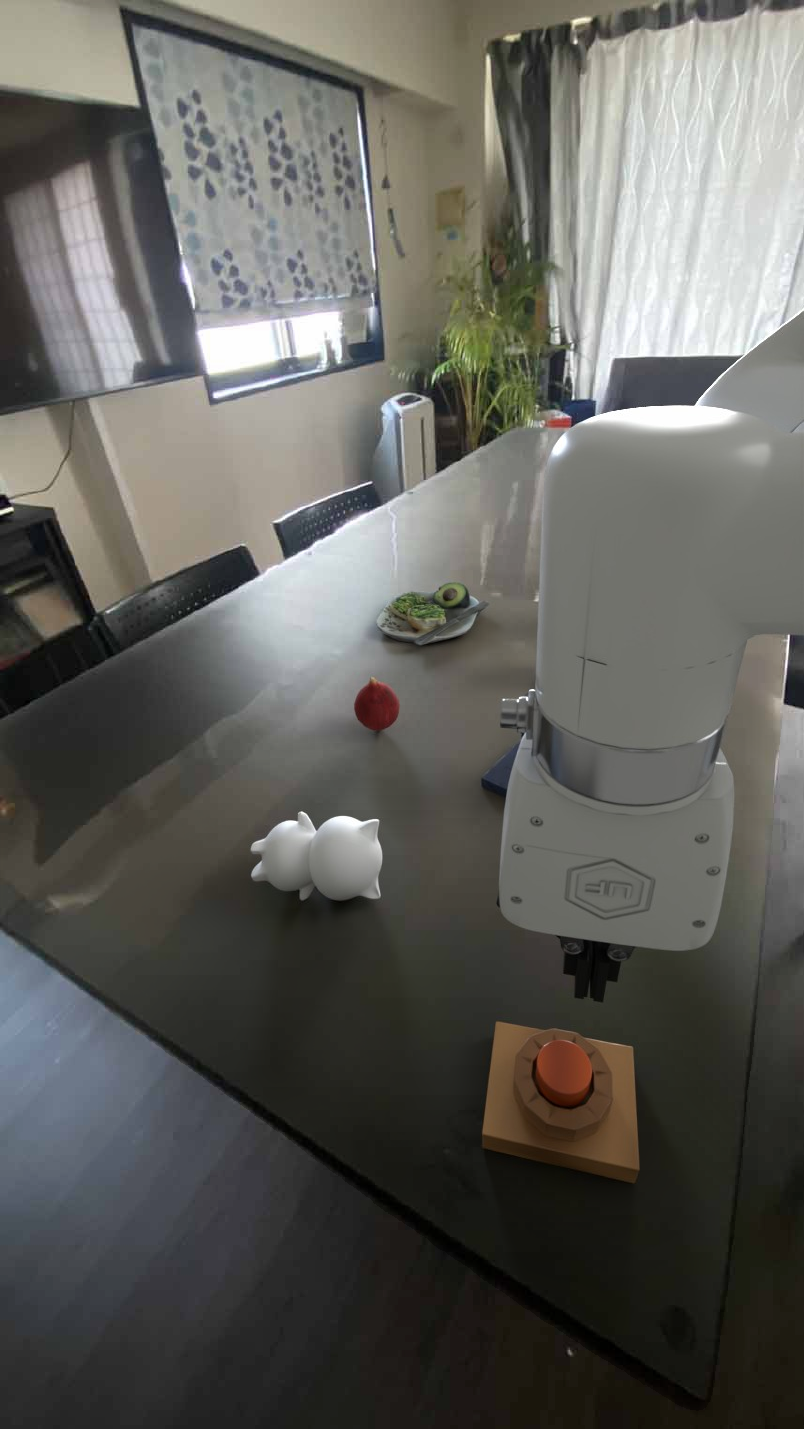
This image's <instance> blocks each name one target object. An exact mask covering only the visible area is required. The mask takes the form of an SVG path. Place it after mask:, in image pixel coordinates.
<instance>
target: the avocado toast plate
mask: <svg viewBox="0 0 804 1429" xmlns="http://www.w3.org/2000/svg"><path fill="white" fill-rule="evenodd" d="M489 605H490V602H489V600H485V599H484V600H482V601H479V600H478V599H476V598H475V597H474V596H472V595H470V592H469V589H468V587H467V586H465V585H464V584H463V583H460V582H448V583H443V585H441V586H439V587H438V590H436V591H426V590H424V591H423V590H411V591H406V592H402V593H399V594H396V595H394V596H392V597H391V598H390V599H389V600H388V601H387V603H386V604H385V606H384V608H382V610H381V612H380V614H379V615H378V617H377V619H376V620H375V625H376V627H377V629H378V630H379V631H380V632H381V633H382V634H384V635H386V636H388V637H390V638H391V639H393V640H395V641H399V642H402V643H413V644H414V645H417V646H423V645H427V644H433V643H436V642H440V641H445V640H450V639H453V638H456V637H461V636H463V635H465V634H467V632H469V631H470V630H471V628H472V627H473V625H474V623H475V620H476V618H477V616H478V615H479V614H480V613H481V612H482V611H483V610H485V609H486V608H487V607H488V606H489Z"/></svg>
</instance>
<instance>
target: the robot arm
mask: <svg viewBox="0 0 804 1429" xmlns="http://www.w3.org/2000/svg"><path fill="white" fill-rule="evenodd" d="M547 458H548V459H547V462H546V466H545V470H544V477H543V478H544V480H543V487H542V488H543V491H542V508H541V530H540V531H541V532H540V534H541V535H540V555H539V556H540V558H539V581H538V582H539V583H538V606H537V607H538V608H537V609H538V610H537V634H536V659H535V681H534V682H535V684H534V685H535V686H534V689H529V690H528V693H529V696H528V697H523V696H522V695H521V696H519V697H518V698H501V702H500V713H499V728H500V729H513V730H516V732H517V733H521V732H522V733H525V734H524V736H523V738H522V740H521V739H520V740H521V742H520V745H519V748H518V751H517V755H516V758H515V761H514V764H513V767H512V771H511V775H510V779H509V783H508V789H507V796H506V797H505V803H504V809H503V820H502V828H501V829H502V830H501V831H502V833H501V842H500V843H501V844H500V857H499V878H498V889H497V895H496V906H497V907H498V908H499V909H500V912H501V915H502V917H503V918H505V919H506V921H508V922H510V923H511V924H513V925H514V926H517V927H519V928H522V929H524V930H527V931H530V932H531V931H532V932H537V933H540V934H541V933H542V934H548V935H553V936H555V937H556V938H557V939H558V940H559V944H560V948H561V950H562V951H563V962H562V963H563V965H562V974H563V975H567V976H574V987H573V988H574V990H573V992H574V993H573V997H574V999H577V1000H584V999H585V998H588V997H589V998H590V999H592V1000H593V1002H596V1003H601V1004H602V1003H604V1000H605V994H606V988H607V982H610V983H611V982H612V983H618V982H619V981H618V980H619V975H620V969H621V966H622V965H621V964H622V962H626V961H627V960H629V959H630V958H631V956H632V955H633V952H634V951H635V949H636V948H643V949H652V950H661V951H673V952H681V951H682V952H684V951H692V950H693V951H694V950H696V949H700V948H701V947H704V946H705V945H707V943H709V942H710V940H711V939H712V937H713V935H714V933H715V931H716V928H717V925H718V921H719V917H720V912H721V908H722V902H723V898H724V891H725V887H726V886H725V885H726V880H727V875H728V874H727V873H728V869H729V868H728V867H729V861H730V854H731V848H732V846H731V845H732V840H733V839H732V838H733V831H734V830H733V829H734V819H735V818H734V816H735V815H734V814H735V779H734V775H733V772H732V769H731V767H730V766H729V763H728V761H727V758H726V756H725V754H724V752H723V751H722V749H721V745H722V740H723V736H724V733H725V728H726V725H727V721H728V717H729V713H730V710H731V705H732V701H733V698H734V694H735V691H736V686H737V683H738V678H739V674H740V670H741V666H742V663H743V658H744V654H745V651H746V646H747V642H748V640H750V639H751V638H753V637H756V636H760V635H779V636H780V635H783V636H784V635H785V636H804V308H803V309H802V310H800V311H799V312H798V313H796V314H795V315H794V316H792V317H791V318H790V319H788V320H787V321H786V322H785V323H783V324H782V325H780V326H779V327H778V328H777V329H775V330H774V331H773V332H771V333H770V334H769V335H767V336H766V337H764V339H762V340H761V341H759V342H758V343H757V344H756V345H755V346H753V347H752V348H750V350H748V351H747V352H746V353H745V354H744V355H743V356H741V357H740V358H739V359H738V360H737V361H736V362H734V363H733V364H732V365H731V366H730V367H729V368H727V370H726V371H724V372H723V373H722V374H721V375H720V376H719V377H718V378H717V379H716V380H715V381H714V382H713V383H712V385H711V386H709V388H708V389H707V390H706V391H705V392H704V393H703V395H701V397H700V398H699V399H698V401H696V403H695V405H663V406H646V407H645V406H644V407H636V408H635V407H634V408H627V409H621V410H615V411H609V412H606V413H602V414H598V415H595V416H592V417H589V418H587V419H584V420H583V421H580V422H578V423H576V424H574V425H573V426H572V427H570V428H569V429H567V431H565V432H564V433H563V434H562V435H560V437H559V439H558V440H557V442H555V444H554V446H553V447H552V448H551V451H550V453H549V455H548V457H547ZM588 995H589V996H588Z"/></svg>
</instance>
